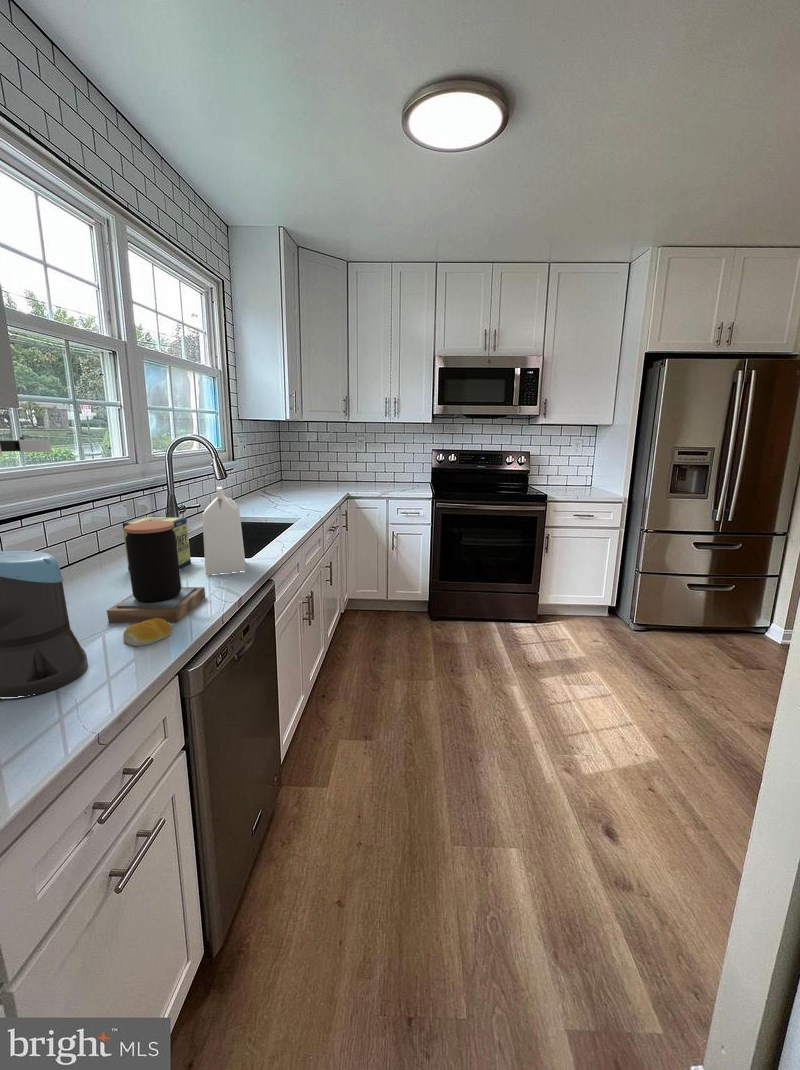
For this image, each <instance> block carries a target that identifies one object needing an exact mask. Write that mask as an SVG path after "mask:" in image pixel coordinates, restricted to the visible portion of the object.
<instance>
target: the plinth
mask: <svg viewBox="0 0 800 1070" xmlns="http://www.w3.org/2000/svg"><path fill="white" fill-rule="evenodd" d="M204 598H205V599H206V590H205V586H197V587H196V586H181V591H180V593H179V595H178V596H176V597H175V598H173V599H170V600H167V601H162V602H156V603H143V602H139V601H137V599H135V597H134V596H133V593H132V594H130V595H129V596H128V597H125V598H123V599H122V600H121V601H119V602H117V603H116V604H115V605H113V606H111V607H110V608H108V609H107V610H106V614H107V622H108V623H128V624H131V623H133V624H137V623H141V622H143V621H146V620H149V619H153V618H161V619H164V620H166V621H167V622H168V623H169V624H171V623H172V624H173V623H174V624H175V623H176V624H177V623H179V622H180V621H181V620H182V619H184V618H185V616H186V615H188V614H189V613H190V612H191V611H192V610H194V609H195V608H196V607H197V606H198V605H200V603H201V602H203V599H204ZM205 599H204V600H205ZM196 605H197V606H196Z"/></svg>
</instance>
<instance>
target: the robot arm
mask: <svg viewBox="0 0 800 1070" xmlns="http://www.w3.org/2000/svg"><path fill="white" fill-rule="evenodd" d="M4 452H6V453H8V452H21V453H52V446H51V442H50V439H24V436H19V439H17V440H16V439H15V440H13V439H12V440H11V439H9V440H8V439H7V440H1V439H0V456H1V457H2V456H3V453H4ZM63 581H64V577H63V575H62V572H61V568H60V564H59V561H58V559H57V558H56V557H55V556H53V555H51V554H50V553H46V552H41V551H33V550H0V697H18V696H28V695H33V694H38V695H40V694H39V693H42V694H44V693H43V692H45V693H48V692H50V691H53V690H57V689H58V688H60V687H63V686H66V685H68V684H69V683H72V682H73V681H75V680H77V679H78V678H79V677H80V676H81V674H82V673H83V674H84V673H85V672H86V670H87V669H88V666H89V663H88V658H87V652H86V651H85V650H84V648H83V647H82V645H81V644H80V642H79V641H78V638H77V637H76V635H75V634H74V632H73V630H72V628H71V624H70V618H69V613H68V609H67V601H66V595H65V589H64V583H63ZM84 671H85V672H84ZM83 674H82V675H83ZM77 677H78V678H77Z"/></svg>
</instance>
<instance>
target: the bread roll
mask: <svg viewBox="0 0 800 1070" xmlns="http://www.w3.org/2000/svg"><path fill="white" fill-rule="evenodd" d="M171 633H172V626H171V623H168V622H167V621H166V620H164V619H161V618H153V619H149V620H146V621H143V622H141V623H133V624H131V625H129V626H127V627H126V629H125V630H124V631H123V636H122V638H123V642H124V643H125V644H127V645H129V646H132V647H142V646H141V645H143V646H147V644H148V645H152V644H154V643H157V642H159V641H161V640H163V639H166V638H168V637H169V636H170V634H171ZM151 643H152V644H151Z"/></svg>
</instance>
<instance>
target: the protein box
mask: <svg viewBox="0 0 800 1070" xmlns="http://www.w3.org/2000/svg"><path fill="white" fill-rule="evenodd" d="M187 520H188V519H187V517H162V516H160V517H158V516H157V517H156V516H155V517H153V516H143V517H142V516H141V517H139V518H136V519H132V520H129V521H125V522H123V523H122V531H123V539H124V544H125V552H126V560H127V561H126V562H127V570H128V571H129V572H130V570H129V562H128V555H127V548H126V541H125V537H126V536H127V533H126V532H125V531H124V527H125V526H127V525H129V524H133V523H138V522H146V521H170V522H173V523H174V528H173V531H174V532H175V535H176V544H177V553H178V562H179V570H181V569H183V568H185V567H186V566H188V565H190V564H192V562H191V561H192V560H191V551H190V542H189V541H190V540H189V531H188V529H189V528H188V521H187Z"/></svg>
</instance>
